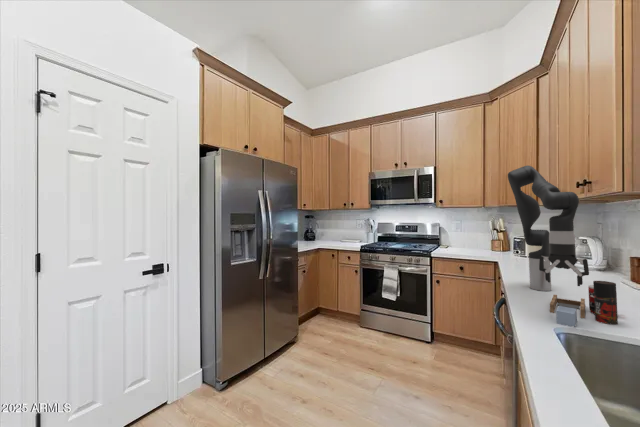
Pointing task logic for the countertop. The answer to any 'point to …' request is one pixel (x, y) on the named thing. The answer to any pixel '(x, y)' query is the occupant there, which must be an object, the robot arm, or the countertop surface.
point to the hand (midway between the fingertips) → (563, 283)
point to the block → (566, 316)
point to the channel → (571, 302)
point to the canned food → (592, 298)
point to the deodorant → (605, 302)
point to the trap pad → (569, 305)
